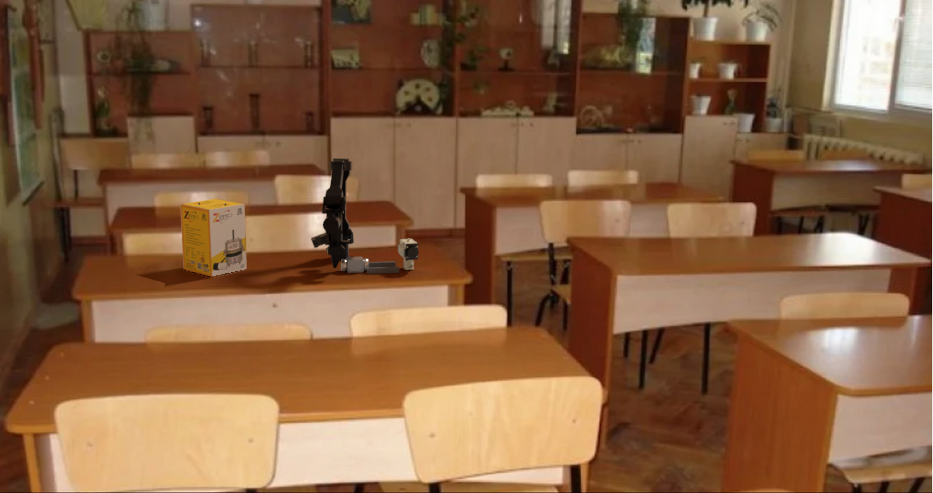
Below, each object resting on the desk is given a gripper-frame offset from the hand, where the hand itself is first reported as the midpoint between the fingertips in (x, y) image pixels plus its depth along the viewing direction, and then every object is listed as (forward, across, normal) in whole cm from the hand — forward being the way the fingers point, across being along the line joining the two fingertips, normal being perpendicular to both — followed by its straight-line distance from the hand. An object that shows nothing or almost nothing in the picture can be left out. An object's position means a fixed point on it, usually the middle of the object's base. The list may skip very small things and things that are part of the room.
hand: (334, 267), depth 335 cm
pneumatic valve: (+2, 0, +28) cm, 28 cm away
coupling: (+2, 0, +8) cm, 8 cm away
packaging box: (+2, -8, -44) cm, 44 cm away
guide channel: (+1, 0, +18) cm, 18 cm away
